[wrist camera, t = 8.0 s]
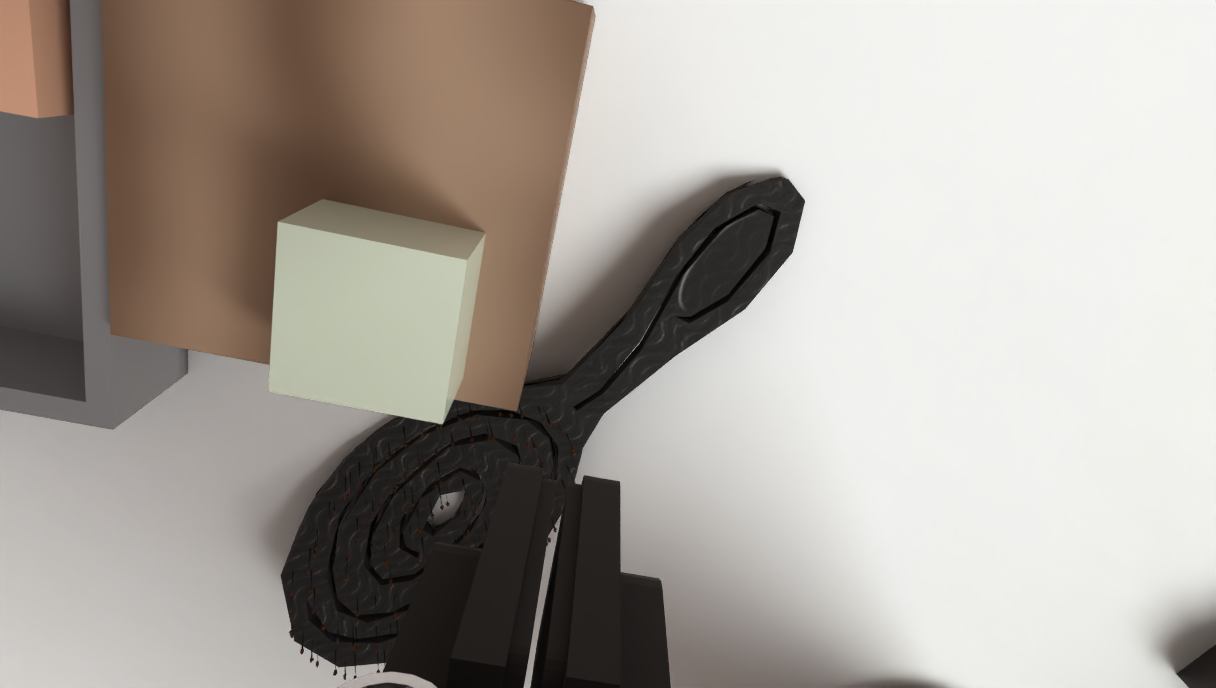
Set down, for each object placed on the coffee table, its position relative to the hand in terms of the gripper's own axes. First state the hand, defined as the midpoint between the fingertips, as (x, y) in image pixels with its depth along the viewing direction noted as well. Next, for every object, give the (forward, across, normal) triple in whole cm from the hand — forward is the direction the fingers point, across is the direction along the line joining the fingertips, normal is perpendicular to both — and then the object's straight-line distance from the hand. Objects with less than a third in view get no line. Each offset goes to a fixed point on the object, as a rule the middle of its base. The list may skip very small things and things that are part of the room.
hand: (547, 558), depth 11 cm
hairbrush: (+17, +1, +6) cm, 18 cm away
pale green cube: (+11, +5, 0) cm, 12 cm away
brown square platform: (+16, +8, -3) cm, 18 cm away
